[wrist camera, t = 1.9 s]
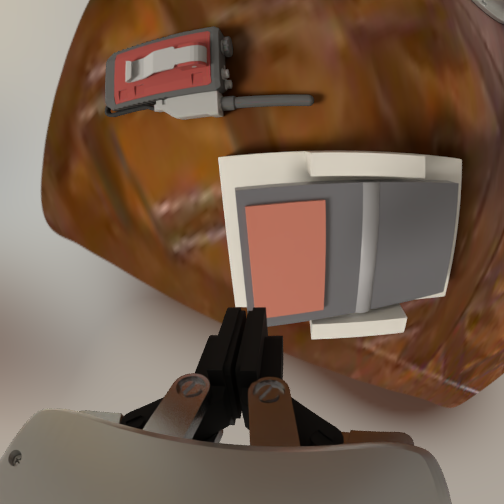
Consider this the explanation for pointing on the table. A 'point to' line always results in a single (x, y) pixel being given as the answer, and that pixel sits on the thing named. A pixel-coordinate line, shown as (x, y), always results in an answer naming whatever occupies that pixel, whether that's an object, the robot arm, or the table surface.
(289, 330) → the table surface
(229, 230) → the switch housing
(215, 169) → the table surface
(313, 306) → the rocker
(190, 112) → the walkie-talkie
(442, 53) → the table surface
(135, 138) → the table surface
